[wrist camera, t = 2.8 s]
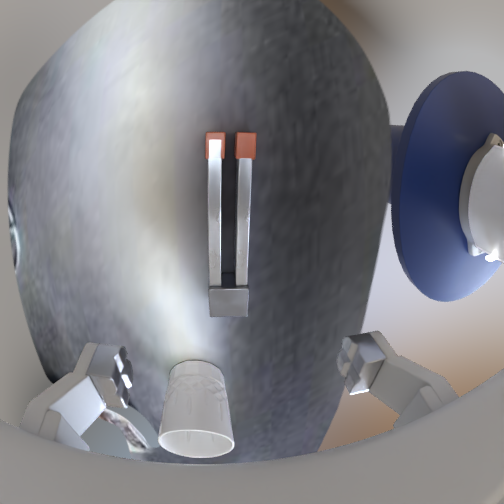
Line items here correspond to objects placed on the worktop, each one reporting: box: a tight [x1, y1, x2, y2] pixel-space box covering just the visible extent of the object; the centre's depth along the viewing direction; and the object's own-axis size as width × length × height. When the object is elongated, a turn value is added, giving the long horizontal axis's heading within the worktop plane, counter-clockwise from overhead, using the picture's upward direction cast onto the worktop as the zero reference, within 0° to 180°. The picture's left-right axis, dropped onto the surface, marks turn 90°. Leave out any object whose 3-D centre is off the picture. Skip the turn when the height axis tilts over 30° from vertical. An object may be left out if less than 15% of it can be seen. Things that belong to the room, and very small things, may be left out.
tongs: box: [205, 132, 256, 317], centre depth 22 cm, size 16×4×3 cm, turn 178°
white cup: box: [158, 361, 234, 458], centre depth 26 cm, size 8×8×10 cm
